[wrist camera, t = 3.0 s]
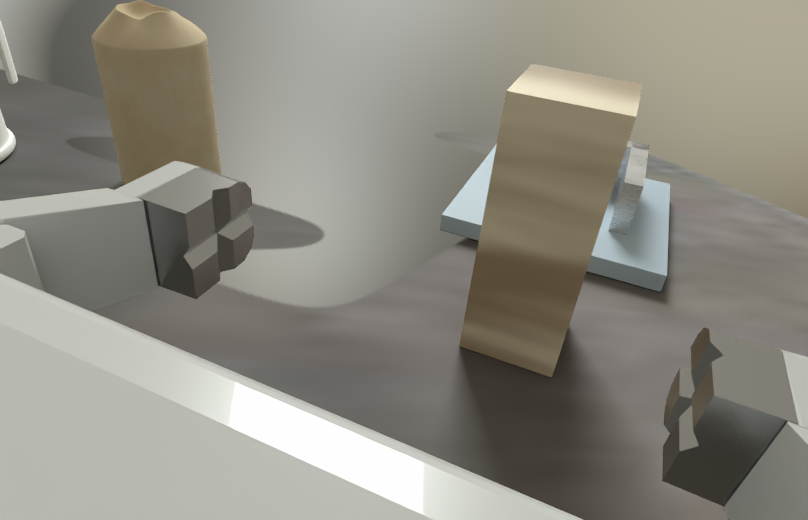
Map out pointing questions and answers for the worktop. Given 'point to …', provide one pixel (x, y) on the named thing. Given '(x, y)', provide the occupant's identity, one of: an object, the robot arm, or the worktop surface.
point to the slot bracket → (628, 186)
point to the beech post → (545, 210)
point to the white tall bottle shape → (3, 140)
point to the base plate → (613, 252)
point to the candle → (156, 89)
